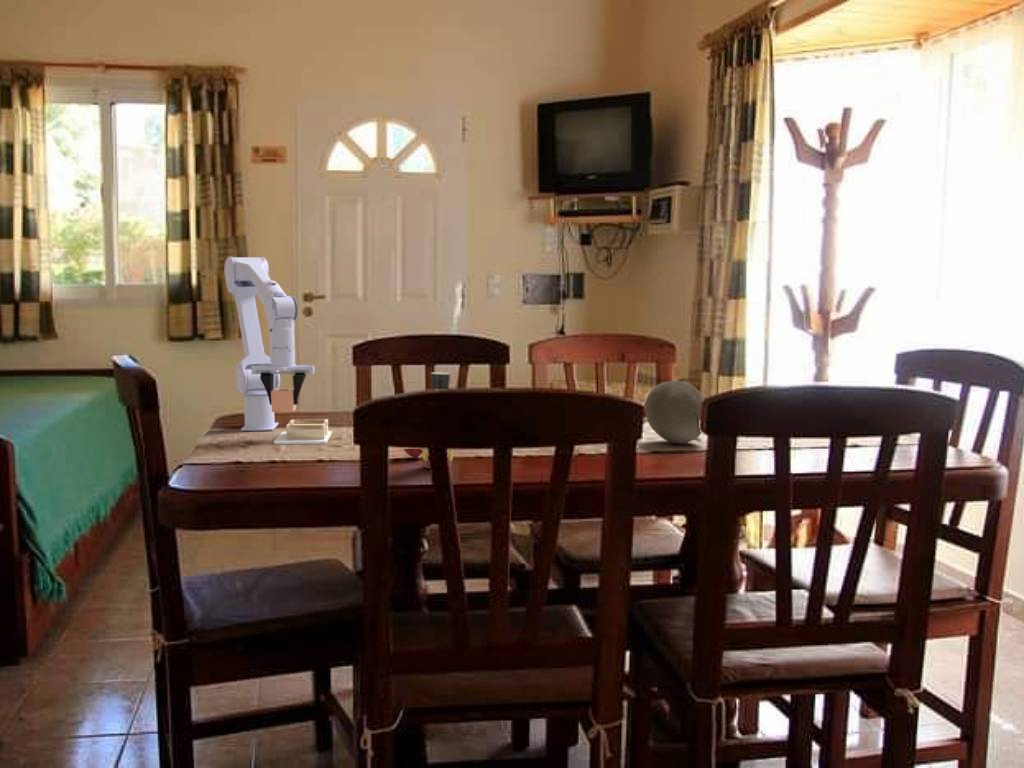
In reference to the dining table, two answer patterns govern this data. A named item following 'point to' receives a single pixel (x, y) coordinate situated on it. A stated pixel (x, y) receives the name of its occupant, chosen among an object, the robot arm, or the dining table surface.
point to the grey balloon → (674, 411)
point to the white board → (283, 440)
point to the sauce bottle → (438, 382)
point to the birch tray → (307, 429)
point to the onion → (414, 452)
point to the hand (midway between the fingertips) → (284, 404)
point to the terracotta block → (282, 400)
